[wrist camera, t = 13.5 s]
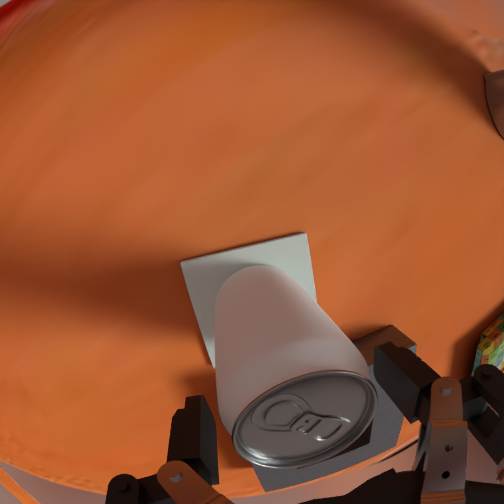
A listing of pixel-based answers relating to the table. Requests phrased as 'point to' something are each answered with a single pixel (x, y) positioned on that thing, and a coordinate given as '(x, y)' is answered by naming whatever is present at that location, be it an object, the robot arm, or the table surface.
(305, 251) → the mat
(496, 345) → the puzzle game
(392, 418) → the hollow block
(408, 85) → the table surface
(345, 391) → the can
